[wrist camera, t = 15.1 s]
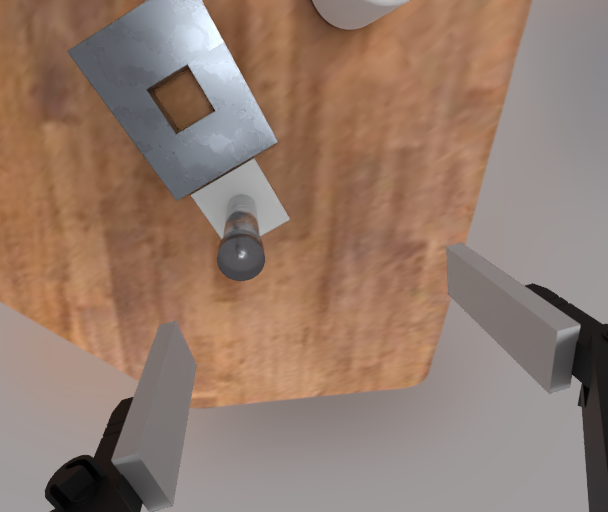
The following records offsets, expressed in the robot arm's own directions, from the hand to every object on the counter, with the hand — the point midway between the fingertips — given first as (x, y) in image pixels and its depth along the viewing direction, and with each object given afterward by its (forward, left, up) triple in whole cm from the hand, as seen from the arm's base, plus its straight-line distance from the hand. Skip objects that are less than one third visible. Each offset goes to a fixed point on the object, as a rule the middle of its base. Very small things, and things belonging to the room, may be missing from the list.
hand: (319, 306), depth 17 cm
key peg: (0, -5, -25) cm, 25 cm away
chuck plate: (-12, -4, -25) cm, 28 cm away
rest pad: (0, -5, -25) cm, 26 cm away
